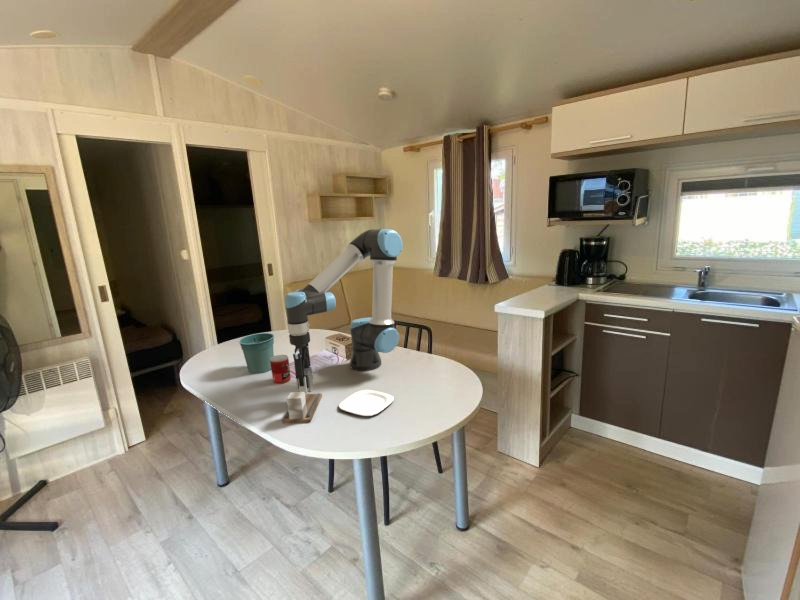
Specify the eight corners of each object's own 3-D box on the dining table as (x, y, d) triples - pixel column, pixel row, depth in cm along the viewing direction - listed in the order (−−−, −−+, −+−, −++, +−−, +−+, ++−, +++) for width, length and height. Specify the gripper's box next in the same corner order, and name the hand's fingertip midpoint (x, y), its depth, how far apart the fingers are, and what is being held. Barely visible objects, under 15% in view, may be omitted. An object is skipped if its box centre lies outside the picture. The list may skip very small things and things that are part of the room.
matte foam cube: (301, 387, 151) (298, 368, 149) (313, 386, 151) (311, 367, 149) (297, 393, 145) (295, 374, 144) (310, 392, 145) (308, 373, 143)
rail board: (322, 396, 153) (319, 375, 151) (310, 422, 133) (307, 398, 131) (297, 397, 153) (295, 376, 151) (282, 423, 134) (279, 399, 132)
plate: (371, 422, 132) (371, 418, 131) (333, 410, 141) (332, 406, 141) (399, 400, 146) (399, 396, 146) (362, 391, 156) (362, 387, 156)
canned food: (286, 384, 166) (282, 360, 164) (269, 383, 168) (266, 360, 166) (294, 377, 174) (291, 354, 171) (278, 376, 175) (275, 354, 173)
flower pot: (264, 377, 175) (259, 344, 172) (236, 374, 181) (230, 342, 177) (285, 364, 191) (281, 333, 187) (258, 361, 196) (254, 332, 193)
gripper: (302, 340, 134) (309, 400, 139) (314, 325, 152) (320, 379, 157) (281, 341, 134) (289, 401, 139) (296, 326, 152) (302, 380, 157)
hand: (305, 389), depth 148 cm, fingers closed on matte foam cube, 6 cm apart
